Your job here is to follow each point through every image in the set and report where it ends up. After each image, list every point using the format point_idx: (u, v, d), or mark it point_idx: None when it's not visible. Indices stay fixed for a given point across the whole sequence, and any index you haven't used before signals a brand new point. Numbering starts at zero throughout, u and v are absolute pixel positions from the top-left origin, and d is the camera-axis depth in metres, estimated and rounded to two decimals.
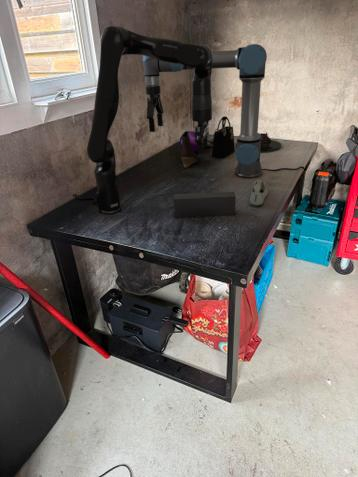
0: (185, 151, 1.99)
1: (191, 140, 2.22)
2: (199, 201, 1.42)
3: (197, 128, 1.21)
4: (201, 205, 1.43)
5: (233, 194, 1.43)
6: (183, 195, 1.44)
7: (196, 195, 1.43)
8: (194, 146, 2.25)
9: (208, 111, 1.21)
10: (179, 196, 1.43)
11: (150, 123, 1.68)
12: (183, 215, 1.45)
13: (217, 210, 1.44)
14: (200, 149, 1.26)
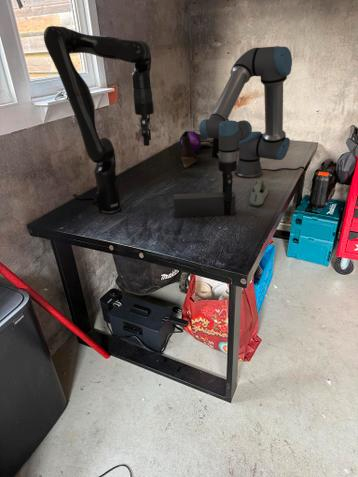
0: (185, 151, 1.99)
1: (191, 140, 2.22)
2: (199, 201, 1.42)
3: (142, 121, 1.25)
4: (201, 205, 1.43)
5: (233, 194, 1.43)
6: (183, 195, 1.44)
7: (196, 195, 1.43)
8: (194, 146, 2.25)
9: (150, 104, 1.26)
10: (179, 196, 1.44)
11: (227, 206, 1.41)
12: (183, 215, 1.45)
13: (217, 210, 1.44)
14: (146, 141, 1.30)
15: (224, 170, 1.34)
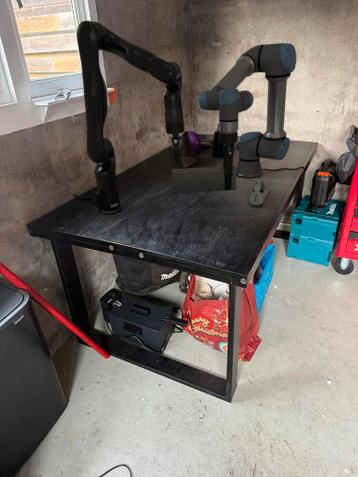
0: (185, 151, 1.99)
1: (191, 140, 2.22)
2: (198, 176, 1.36)
3: (174, 140, 1.25)
4: (200, 180, 1.37)
5: (234, 168, 1.37)
6: (182, 170, 1.39)
7: (195, 169, 1.38)
8: (194, 146, 2.25)
9: (182, 123, 1.26)
10: (178, 170, 1.38)
11: (228, 181, 1.35)
12: (182, 191, 1.40)
13: (217, 185, 1.39)
14: (177, 160, 1.30)
15: (225, 141, 1.29)
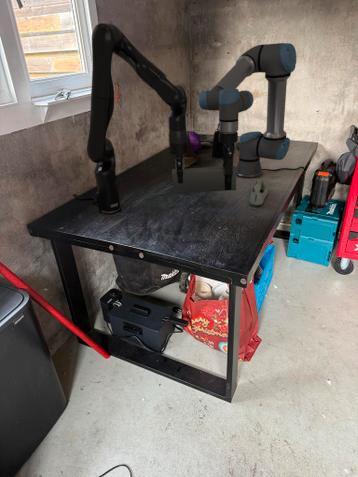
0: None
1: (191, 140, 2.22)
2: (198, 176, 1.36)
3: (178, 163, 1.29)
4: (200, 180, 1.37)
5: (234, 168, 1.37)
6: None
7: (195, 170, 1.38)
8: (194, 146, 2.25)
9: (185, 144, 1.30)
10: (178, 171, 1.38)
11: (228, 181, 1.35)
12: (182, 191, 1.40)
13: (217, 185, 1.39)
14: (181, 180, 1.36)
15: (225, 141, 1.28)
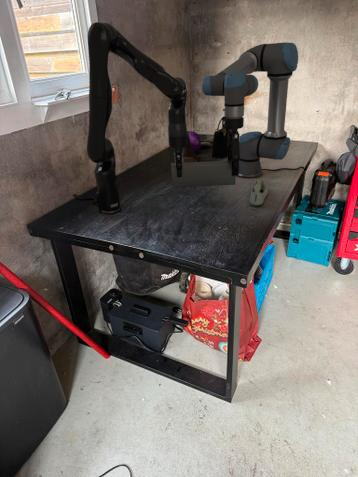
0: (185, 151, 1.99)
1: (191, 140, 2.22)
2: (197, 170, 1.35)
3: (177, 157, 1.28)
4: (199, 174, 1.36)
5: None
6: None
7: (194, 163, 1.36)
8: (194, 146, 2.25)
9: (185, 137, 1.29)
10: (177, 164, 1.36)
11: (235, 166, 1.29)
12: (181, 185, 1.38)
13: (217, 180, 1.37)
14: (180, 173, 1.35)
15: (230, 127, 1.26)
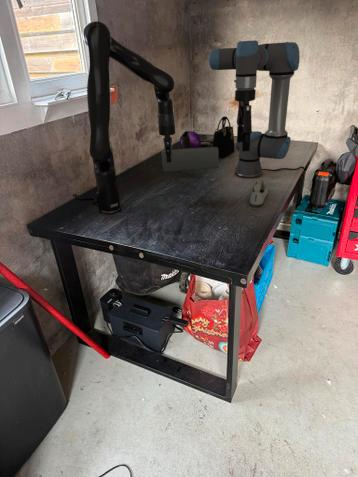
0: None
1: (191, 140, 2.22)
2: (185, 155, 1.53)
3: (166, 143, 1.46)
4: (187, 159, 1.54)
5: (216, 148, 1.54)
6: None
7: (182, 150, 1.55)
8: (194, 146, 2.25)
9: (173, 126, 1.47)
10: None
11: (246, 140, 1.23)
12: (170, 169, 1.56)
13: (202, 164, 1.56)
14: (169, 159, 1.53)
15: (242, 99, 1.21)
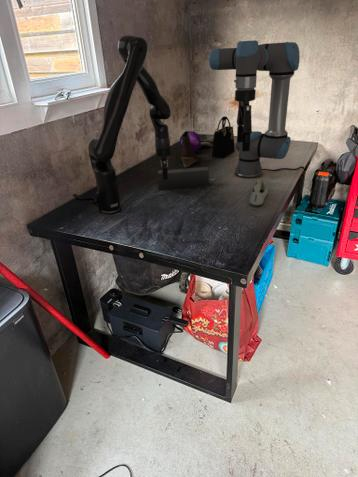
0: (185, 151, 1.99)
1: (191, 140, 2.22)
2: (179, 175, 1.73)
3: (163, 162, 1.64)
4: (181, 179, 1.74)
5: (207, 168, 1.74)
6: None
7: (176, 170, 1.74)
8: (194, 146, 2.25)
9: (168, 148, 1.66)
10: None
11: (246, 140, 1.23)
12: (166, 187, 1.75)
13: (194, 182, 1.76)
14: (165, 176, 1.70)
15: (242, 99, 1.21)
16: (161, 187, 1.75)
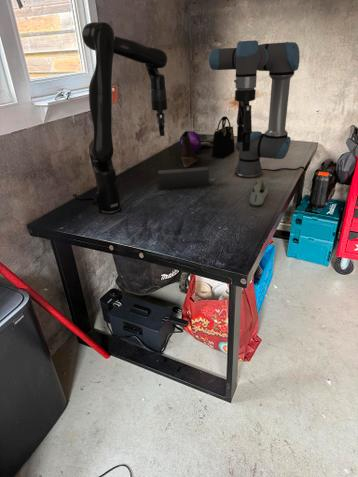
0: (185, 151, 1.99)
1: (191, 140, 2.22)
2: (179, 175, 1.73)
3: (160, 115, 1.53)
4: (181, 179, 1.74)
5: (207, 168, 1.74)
6: (166, 171, 1.74)
7: (176, 170, 1.74)
8: (194, 146, 2.25)
9: (165, 101, 1.54)
10: (162, 171, 1.73)
11: (246, 140, 1.23)
12: (166, 187, 1.75)
13: (194, 182, 1.76)
14: (162, 132, 1.58)
15: (242, 99, 1.21)
16: (161, 187, 1.75)
